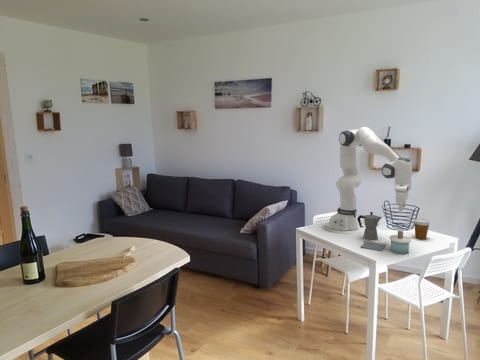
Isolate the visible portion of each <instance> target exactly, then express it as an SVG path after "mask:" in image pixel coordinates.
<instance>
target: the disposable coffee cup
mask: <svg viewBox="0 0 480 360" xmlns="http://www.w3.org/2000/svg"><path fill="white" fill-rule="evenodd" d="M413 223H414V235H415V237H414V238H416V240H421V241H422V240H427V235H428V231H429V227H430V224H431V223H430V220H428V219H425V218H415V219H414V220H413Z"/></svg>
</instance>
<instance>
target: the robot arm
mask: <svg viewBox="0 0 480 360" xmlns="http://www.w3.org/2000/svg"><path fill="white" fill-rule="evenodd" d="M338 141H339V144H340V145H339V165H340V168H341V170H342V173H343V175H342V176H339V178H338V179H337V180H336V184H335V186H336V188H337V189H338V193H339V196H340V205H339V207H338V208H337V210H336V211H337V212H336V213H335V214H333V215H332V216H330V218H329V221H328V222H326V224H325V227H326V228H329V229H330V228H331V229H334V230H339V231H343V232H345V231H354V230H357V229H358V228H359V226H358V220H357V217H358V215H357V214H358V211H357V209H358V208H357V197H356V195H355V189H356V188H358V187H359V186H360V185H361V182H362V178H361V176H360V174H359V171H358V166H357V152H356V151H357V150H356V149H357V147H358V146H359V147H362V148H363V150H364V151H365V152H367V153H368V154H370V155H377V156H382V157H384V158H386V159H388V160H389V162H387V163H384V164H383V166H382V168H381V174H382V176H383V177H384V178H385V179H389V180H390V179H394V192H395V204H396V205H398V211H399V212H402V211H403V209H405V207H406V204H407V203H406V202H407V201H408V198H409V192H410V191H411V190H412V183H413V182H412V181H413V180H412V174H413V164H412V160H411V159H410V158H407V157H402V156H401V155H399V154H398V153H397V152H396V151H395V149H393V148H392V147H391V146H390V145H388V144H386V142H384V141H383V140H382V139H380V138H379V136H378V135H377V134H376V133H375V132H374V131H373V130H372V129H371V128H369V127H368V126H362V127H360V128H355V129H349V130H344V131H341V132H340V133H339V136H338Z"/></svg>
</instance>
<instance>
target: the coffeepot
mask: <svg viewBox="0 0 480 360" xmlns="http://www.w3.org/2000/svg"><path fill="white" fill-rule="evenodd" d="M361 219H363V220H364V221H363V222H364V225H362V223H361V221H362V220H361ZM381 219H383V216H379V215H376V214H373V211H370V214H365V215H363V214H362V215H358V216H357V217H356V221H357V223H358V225H359V227H360V228H364V226H365V229H364V231H363V239H364V240H365V241H370V240H375V241H377V240H378V238H379V237H378V229H377V227H378V223H379V222H380V220H381Z"/></svg>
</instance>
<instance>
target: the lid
mask: <svg viewBox="0 0 480 360" xmlns="http://www.w3.org/2000/svg"><path fill="white" fill-rule="evenodd" d="M389 240H390V242H391V241H394V242H398V243H409V242H410V243H411V242H412V239H411V237H409V236H407V235H404V231H403V230H397V234H391V235H390V236H389ZM410 243H409V244H410Z"/></svg>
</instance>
